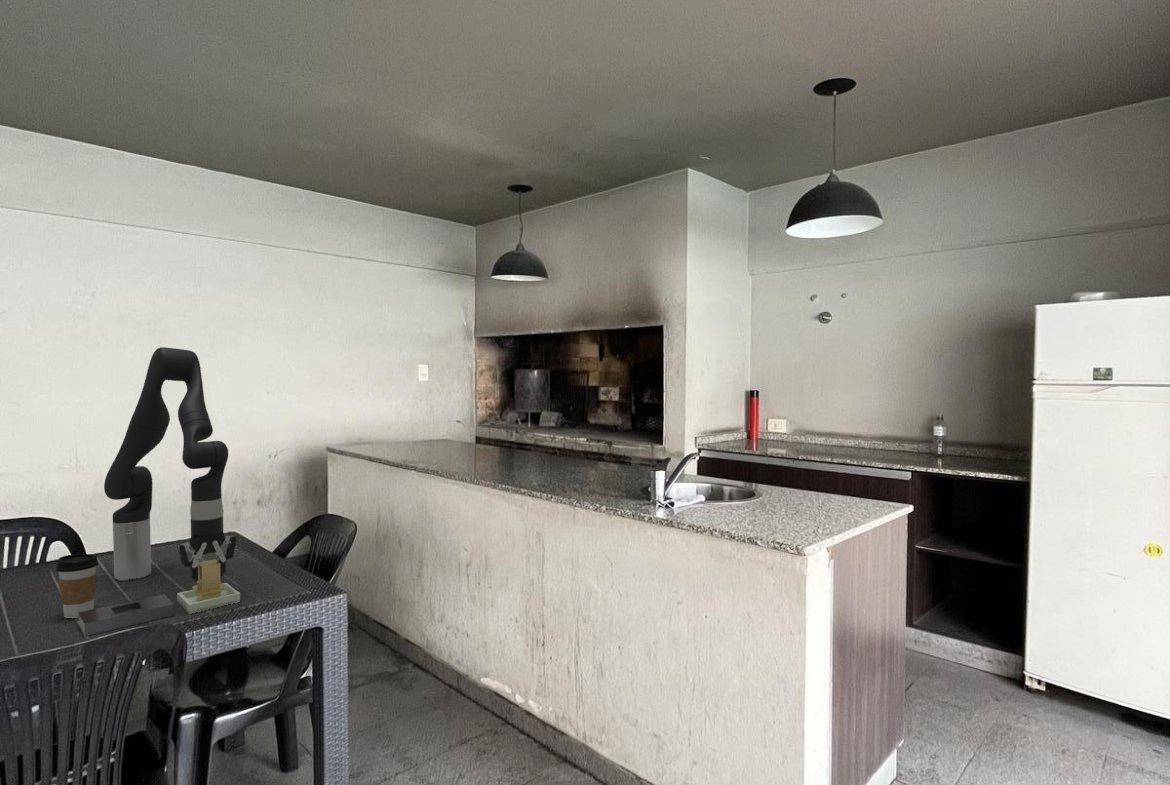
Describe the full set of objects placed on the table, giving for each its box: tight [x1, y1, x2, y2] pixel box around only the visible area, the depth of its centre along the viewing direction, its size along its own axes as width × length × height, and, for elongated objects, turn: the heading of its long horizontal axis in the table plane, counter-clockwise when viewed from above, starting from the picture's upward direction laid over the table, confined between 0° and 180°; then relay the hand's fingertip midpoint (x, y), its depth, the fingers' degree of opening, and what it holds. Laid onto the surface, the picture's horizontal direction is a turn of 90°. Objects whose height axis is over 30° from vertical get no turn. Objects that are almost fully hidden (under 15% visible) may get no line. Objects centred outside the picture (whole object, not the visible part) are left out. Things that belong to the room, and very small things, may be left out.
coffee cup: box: [56, 553, 99, 620], centre depth 163 cm, size 8×8×15 cm
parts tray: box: [176, 582, 241, 615], centre depth 171 cm, size 12×12×2 cm
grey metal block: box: [77, 593, 175, 637], centre depth 159 cm, size 10×18×3 cm, turn 135°
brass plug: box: [191, 558, 226, 601], centre depth 171 cm, size 6×6×10 cm
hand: (208, 577), depth 171 cm, fingers open, 5 cm apart
